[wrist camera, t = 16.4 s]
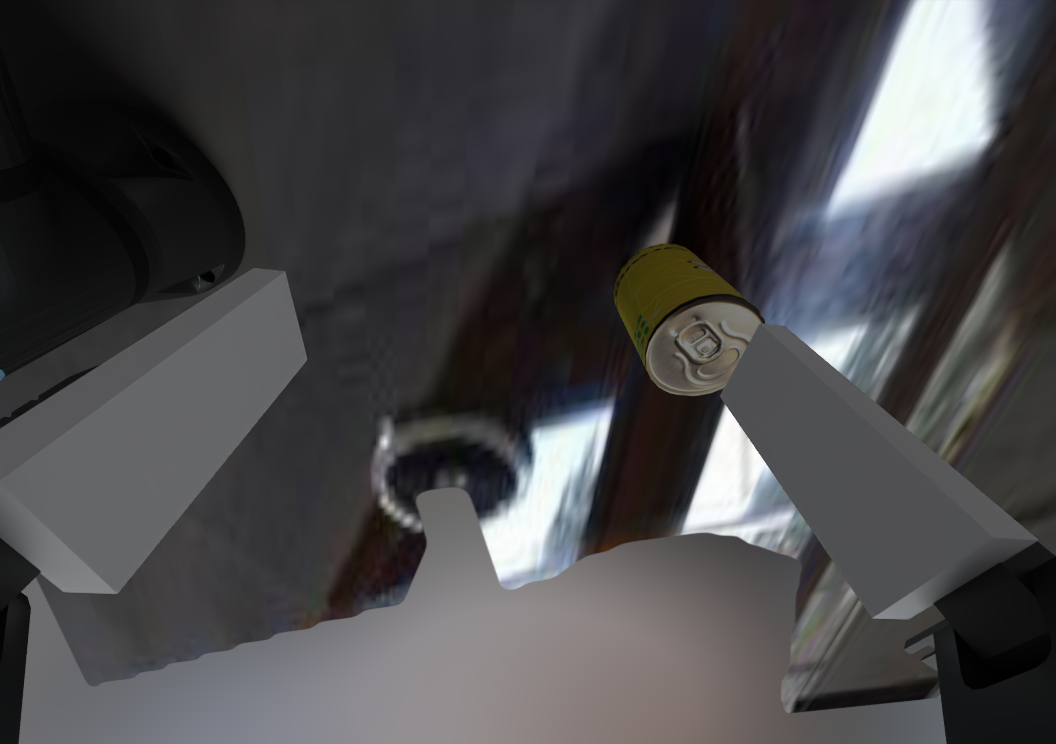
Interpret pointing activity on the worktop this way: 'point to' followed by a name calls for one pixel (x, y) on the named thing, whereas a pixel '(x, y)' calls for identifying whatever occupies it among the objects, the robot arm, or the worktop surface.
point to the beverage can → (683, 319)
